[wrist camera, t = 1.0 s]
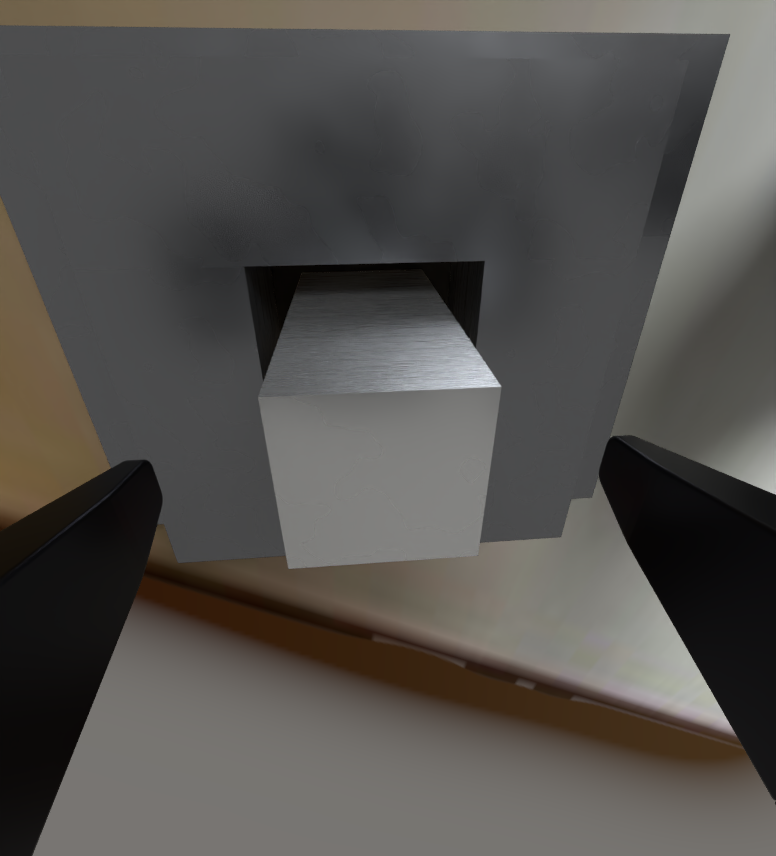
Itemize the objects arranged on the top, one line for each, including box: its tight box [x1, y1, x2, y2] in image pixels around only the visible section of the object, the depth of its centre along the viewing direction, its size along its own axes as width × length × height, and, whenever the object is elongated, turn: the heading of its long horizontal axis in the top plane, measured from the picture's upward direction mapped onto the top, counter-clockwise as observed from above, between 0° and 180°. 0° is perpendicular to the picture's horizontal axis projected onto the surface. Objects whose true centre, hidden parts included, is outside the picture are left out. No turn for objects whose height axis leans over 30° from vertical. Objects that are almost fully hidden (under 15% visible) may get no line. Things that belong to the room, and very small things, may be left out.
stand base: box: [0, 25, 730, 563], centre depth 14 cm, size 20×16×6 cm
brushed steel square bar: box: [258, 269, 502, 569], centre depth 12 cm, size 4×4×9 cm
